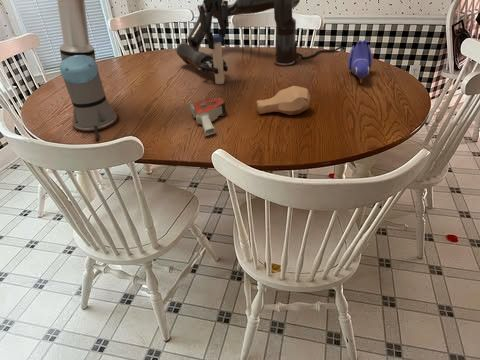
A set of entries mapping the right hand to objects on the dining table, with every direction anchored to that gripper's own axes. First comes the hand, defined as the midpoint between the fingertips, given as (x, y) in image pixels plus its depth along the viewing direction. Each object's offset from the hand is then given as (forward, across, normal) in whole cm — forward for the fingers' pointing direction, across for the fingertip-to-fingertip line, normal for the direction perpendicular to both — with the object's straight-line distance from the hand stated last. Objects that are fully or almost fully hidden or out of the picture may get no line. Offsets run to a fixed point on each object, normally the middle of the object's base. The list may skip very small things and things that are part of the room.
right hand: (221, 70), depth 155 cm
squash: (+39, -2, -6) cm, 40 cm away
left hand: (-3, 0, +9) cm, 10 cm away
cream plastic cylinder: (-3, 0, -6) cm, 7 cm away
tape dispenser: (+27, +24, -6) cm, 37 cm away
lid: (-3, 0, +14) cm, 14 cm away
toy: (+35, -49, -6) cm, 60 cm away
